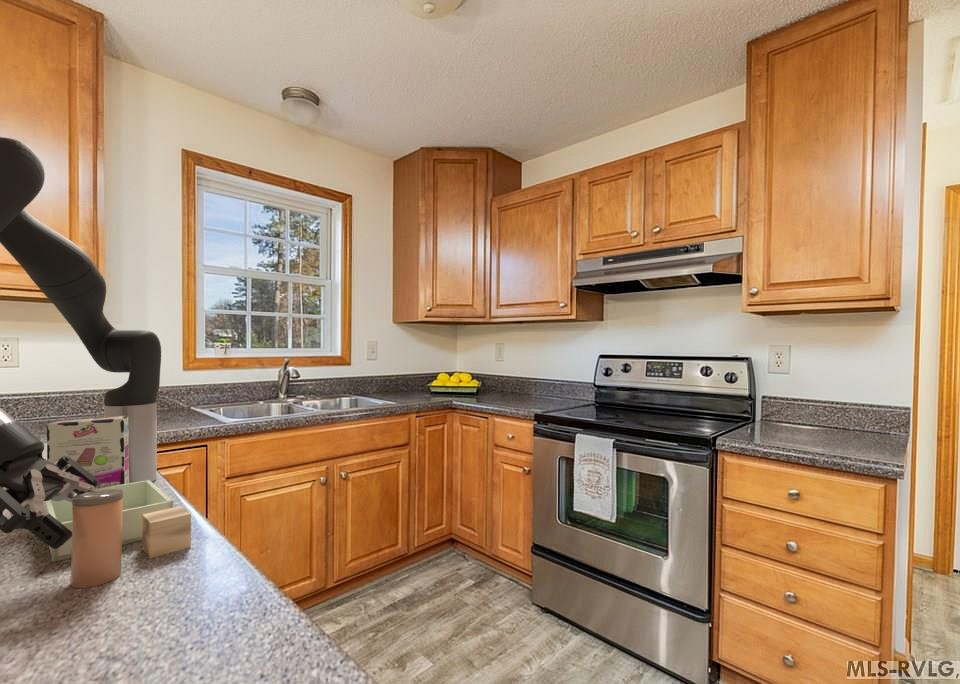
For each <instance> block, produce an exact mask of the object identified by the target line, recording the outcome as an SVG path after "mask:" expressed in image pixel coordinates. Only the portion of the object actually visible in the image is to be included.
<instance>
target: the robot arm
mask: <svg viewBox="0 0 960 684" xmlns="http://www.w3.org/2000/svg"><path fill="white" fill-rule="evenodd" d="M45 177H46V174H45V168H44V165H43V163H42V161H41V159H40V156H38V154H37V153H36V152H35V151H34V150H33V149H32V147H30V146H29V145H27V144H26V143H24V142H22V141H20V140H17V139H14V138H11V137H4V136H3V137H2V136H0V244H1V245H2V247H3V248H4V249H5V250H6V251H8V253H9V254H10V255H11V256H12V257H13V259H14V260H15V261H16V262H17V263H18V264H19V266H20V267H22V269H23V270H24V271H25V273H26V274H27V275H28V277H29V278H30V279H31V281H33V283H34V284H35V285H36V287H38V288H39V290H40V291H41V292H42V294H44V296H45V297H46V298H47V299H48V300H49V301H50V302H51V303H52V304H53V305H54V306H55V308H56V309H57V310H58V311H59V313H60V314H61V316H63V318H64V320H66V322H67V323H68V324H69V325H70V327H71V328H72V329H73V331H74V332H75V334H76V335H77V336H78V338H79V339H80V341H81V343H82V344H83V346H84V348H86V350H87V352H88V353H89V355H90V356H91V358H92V359H93V361H94V362H95V363H96V364H97V366H99V367H100V368H101V370H104V371H105V372H110V373H117V374H118V373H119V374H120V373H126V374H127V373H128V379H127V381H126V382H124V384H122V385H121V386H118V387H117V388H113V389H111V390H108V391H106V392H105V394H104V397H103V417H116V416H128V417H129V483H134V482H139V481H145V480H150V481H151V482H152V483H153V482H155V481H156V480H157V470H158V469H157V462H158V459H157V455H158V454H157V449H158V447H157V446H158V445H157V443H158V442H157V441H158V440H157V439H158V438H157V436H158V435H157V433H158V431H157V430H158V429H157V428H158V427H157V426H158V425H157V423H158V422H157V421H158V418H157V417H158V414H157V411H158V410H157V409H158V407H157V403H158V402H157V400H158V394H159V389H160V383H161V364H162V346H161V341H160V339H159V337H158V335H157V334H156V333H154V332H153V331H150V330H137V329H136V330H133V329H132V330H130V329H129V330H128V329H127V330H120V329H117V328H115V327H114V326H113V325H112V324H111V323H110V322H109V320H108V318H107V317H106V316H105V314H104V306H105V301H106V296H107V283H106V281H105V279H104V277H103V275H102V273H101V271H100V270H99V269H98V267H97V266H96V265H95V263H94V261H93V260H92V259H91V258H90V256H89V254H87V253H86V251H85V250H83V249H82V248H81V247H80V246H78V245H77V244H75V243H74V242H73V241H71V240H70V239H68V238H67V237H66V236H64V235H63V234H61V233H59V232H57V231H56V230H55V229H52V228H51V227H49V226H48V225H46V224H45V223H44V222H41V220H38V219H37V218H36V217H34V216H33V215H32V214H30V213H29V211H27V210H26V209H25V208H26V207H28V206H29V204H30V203H32V202H33V201H34V199H35V198H36V197H37V196H38V195H39V193H40V192H41V190H42V189H43V187H44V184H45ZM44 451H45V443H44V442H42V440H41V439H39V438H38V437H36V436H35V435H34V434H33V433H32V432H30V431H29V430H28V429H27V428H26V427H25V426H23V425H22V424H21V423H20V422H18V421H17V420H16V419H15V418H14V417H13V416H11V415H10V413H8V412H7V411H5V410H4V409H3V408H1V407H0V531H1V532H2V533H4V534H11V533H12V532H13V531H15V530H20V531H23V532H27V531H29V532H30V533H31V534H33V535H34V536H35V537H36V538H37V539H39V540H40V541H42V542H43V543H44V544H45V545H46V546H48V547H49V546H50V547H52V548H53V549H57V548H59V547H61V546H62V545H63V544H64V543H65V542H67V541H68V540H69V539H70V538H71V537H72V532H71V531H70V530H69V529H68V528H66V527H65V526H64V525H63V524H62V523H60V522H59V521H58V520H57V519H55V518H54V517H53V516H52V515H50V514H48V515H46V516H44V515H45V514H46V510H45V507H44V501H48V500H50V499H51V500H54V501H62V500H66V501H69V502H72V498H73V497H75V496H77V495H80V494H83V493H87V492H92V491H95V490H96V486H98V485H99V484H100V481H99V480H98V479H97V478H95V477H94V476H93V475H92V474H90V473H89V472H88V471H86V470H85V469H84V468H83V467H81V466H80V465H79V464H77V463H76V462H75V461H74V460H72V459H71V458H70V457H68V456H63V457H61V458H60V459H59V460H58V461H57V462H55V463H52V462H49V461H47V458H44V457H43V452H44ZM80 477H81V478H83V479H84V480H85V481H86V482H87V483H85V482H82V481H79V478H80ZM63 483H64V484H65V485H64V486H63ZM72 490H73V491H74V492H76V493H77V494H74V493H70V492H71V491H72ZM5 510H7V511H8V512H9V514H10V518H8V517H6V516H5V515H4V513H3V512H4V511H5Z"/></svg>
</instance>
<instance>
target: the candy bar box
mask: <svg viewBox="0 0 960 684" xmlns="http://www.w3.org/2000/svg"><path fill="white" fill-rule="evenodd" d="M63 456H68V457H70V458H71V459H72V460H74V461H75V462H76V463H77V464H79V465H80V466H81V467H83V468H84V469H85V470H86V471H88V472H89V473H90V474H92V475H93V476H94V477H95V478H97V479H98V480H99V481H100V484H99V485H98V486H96V489H99V488H105V487H110V486H116V485H122V484H128V483H129V417H128V416H116V417H104V416H103V417H101V416H100V417H89V418H87V417H86V418H77V419H75V418H73V419H60V420H54V421H52V422H49V423H47V425H46V460H47V461H49V462H52V463H55V462H57V461H58V460H59V459H60V458H61V457H63ZM79 481H82V482H85V483H87V482H86V481H85V480H84V479H83V478H81V477H80V478H79ZM64 485H65V484H64V483H63V486H64ZM70 493H76V492H74V491H73V490H72V491H71V492H70Z"/></svg>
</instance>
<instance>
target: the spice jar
mask: <svg viewBox="0 0 960 684" xmlns="http://www.w3.org/2000/svg"><path fill="white" fill-rule="evenodd" d="M122 509H123V490H119V489H106V490H97V491H92V492H87V493H83V494H80V495H77V496H75V497H73V498H72V555H71V558H70V559H71V564H70V565H71V566H70V567H71V568H70V586H71V587H73V588H75V589H86V588H92V587H97V586H100V585H101V584H102V585H105V584H107V583H110V582H112V581H114V580H117V579H118V578H119V577H120V576H121V575H122V563H123V562H122V561H123V560H122V558H123V557H122V554H123V553H122V552H123V550H122V549H123V545H122ZM109 581H110V582H109ZM104 583H105V584H104Z"/></svg>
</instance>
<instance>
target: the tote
mask: <svg viewBox="0 0 960 684" xmlns="http://www.w3.org/2000/svg"><path fill="white" fill-rule="evenodd" d="M106 489H119V490H123V509H122V546H124V545H127V544H132V543H135V542H136V543H137V542H140V541H142V514H147V513H151V512H156V511H161V510H165V509H170V508H174V500H173V499H172V498H170V497H169V496H168V495H167V494H166V493H165V492H164V491H162V490H161V489H160V488H159V487H158V486H156V485H155V484H154V483H153V482H151V481H150V480H145V481H139V482H134V483H128V484H122V485H116V486H110V487H105V488H99V489H96V490H95V491H97V490H106ZM74 494H77V493H74ZM43 503H44V507H45V510H46V514H45V515H44V516H46V515H48V514H50V515H52V516H53V517H54V518H55V519H57V520H58V521H59V522H60V523H62V524H63V525H64V526H65V527H66V528H68V529H69V530H70V531H71V532H72V502H69V501H66V500H62V501H54V500H51V499H50V500H48V501H43ZM48 549H49V553H50V557H51V562H52V563H55V562H59V561H64V560H68V559H71V555H72V537H71V538H70V539H69V540H68V541H67V542H65V543H64V544H63V545H62V546H61V547H59V548H57V549H53V548H52V547H50V546H49V545H48Z"/></svg>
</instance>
